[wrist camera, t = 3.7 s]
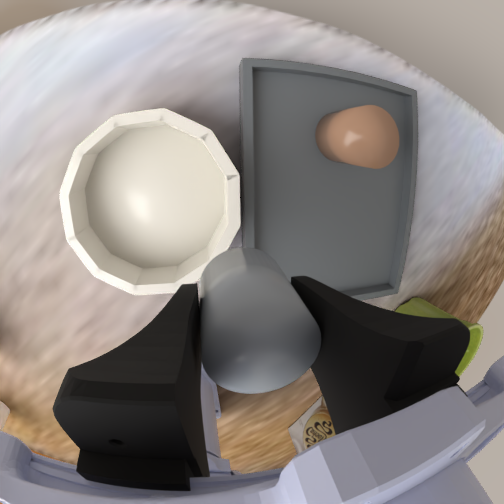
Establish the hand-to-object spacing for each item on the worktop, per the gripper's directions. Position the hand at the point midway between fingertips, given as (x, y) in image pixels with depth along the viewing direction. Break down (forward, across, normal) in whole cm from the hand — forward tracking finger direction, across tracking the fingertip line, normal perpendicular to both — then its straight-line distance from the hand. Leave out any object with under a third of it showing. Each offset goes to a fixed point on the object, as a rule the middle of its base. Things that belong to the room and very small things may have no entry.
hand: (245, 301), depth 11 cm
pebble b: (+8, -8, -7) cm, 14 cm away
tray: (+9, -8, -3) cm, 12 cm away
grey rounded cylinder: (+1, 0, 0) cm, 1 cm away
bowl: (+9, +5, -3) cm, 11 cm away
